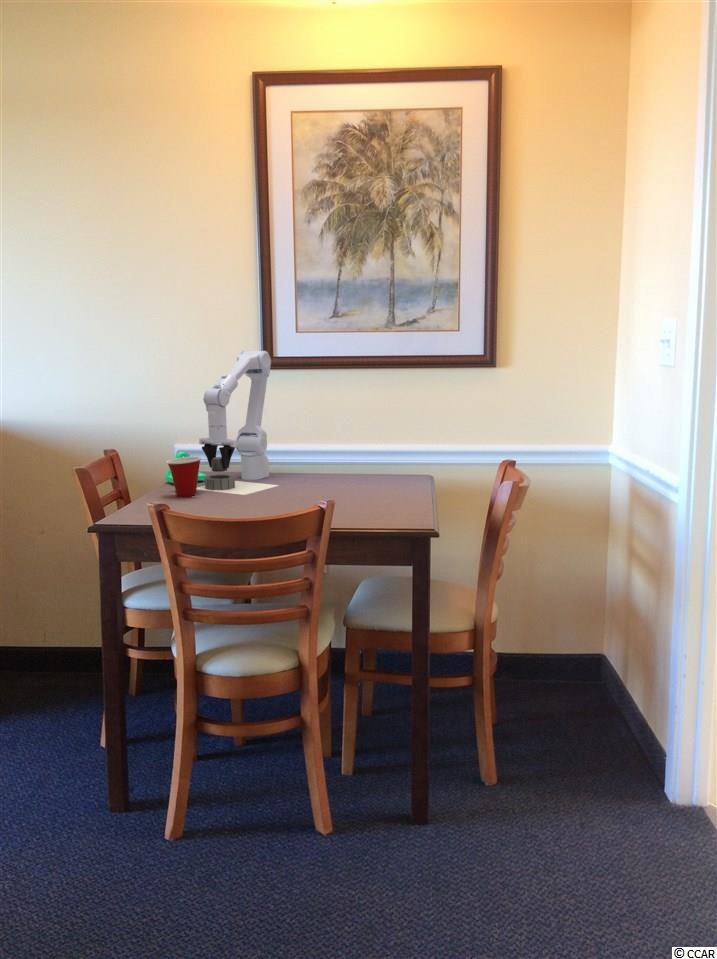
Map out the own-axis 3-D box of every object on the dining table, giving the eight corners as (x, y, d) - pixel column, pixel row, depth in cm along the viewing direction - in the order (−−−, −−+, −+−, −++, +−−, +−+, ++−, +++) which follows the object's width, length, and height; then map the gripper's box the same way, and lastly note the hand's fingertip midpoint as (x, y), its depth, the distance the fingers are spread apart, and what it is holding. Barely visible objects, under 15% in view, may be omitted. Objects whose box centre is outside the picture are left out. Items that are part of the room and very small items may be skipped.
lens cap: (219, 468, 285) (218, 456, 285) (230, 470, 282) (230, 457, 282) (208, 471, 281) (207, 458, 281) (219, 472, 278) (219, 459, 278)
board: (227, 482, 297) (227, 469, 296) (279, 487, 285) (279, 474, 284) (191, 491, 282) (190, 478, 281) (244, 497, 270) (244, 483, 269)
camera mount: (173, 486, 292) (172, 456, 290) (165, 483, 298) (164, 453, 296) (207, 482, 298) (205, 452, 296) (198, 479, 304) (197, 450, 302)
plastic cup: (170, 493, 279) (168, 456, 277) (204, 492, 280) (202, 455, 277) (165, 500, 268) (163, 461, 266) (201, 498, 269) (199, 460, 267)
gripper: (191, 426, 280) (193, 467, 282) (226, 428, 272) (228, 471, 275) (206, 423, 286) (208, 464, 288) (241, 426, 278) (242, 468, 280)
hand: (219, 467), depth 282 cm, fingers closed on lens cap, 5 cm apart
